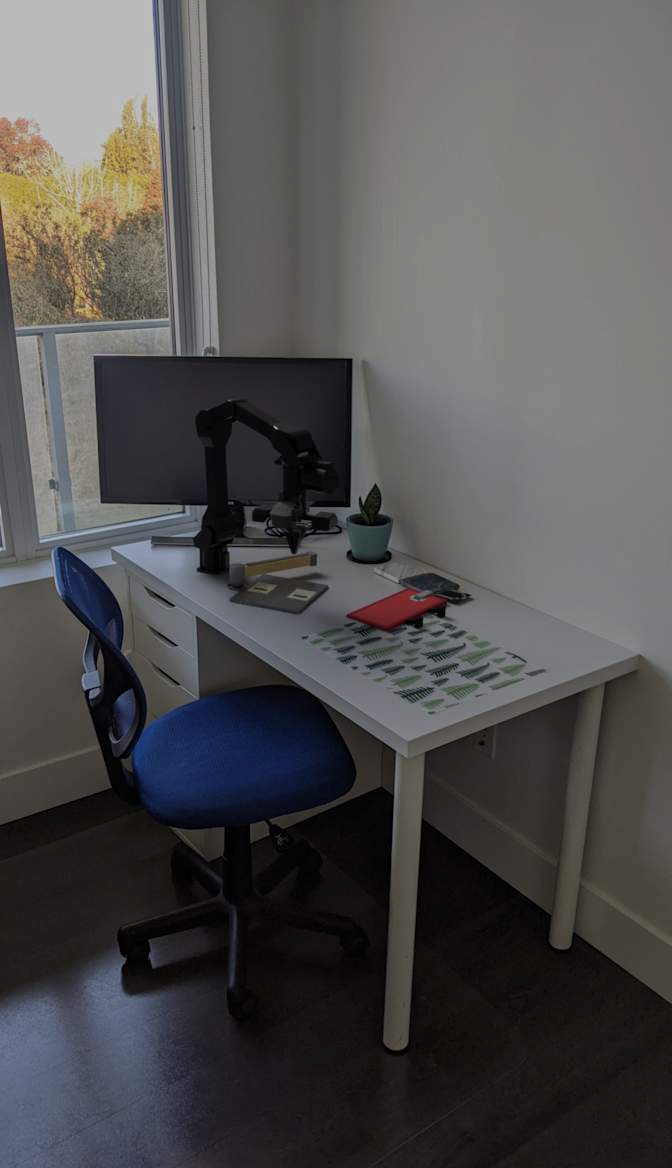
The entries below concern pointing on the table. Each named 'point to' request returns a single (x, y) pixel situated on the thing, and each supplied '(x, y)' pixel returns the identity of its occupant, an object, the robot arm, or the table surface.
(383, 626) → the red board with handle
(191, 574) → the table surface
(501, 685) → the table surface
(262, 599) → the panel
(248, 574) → the swing arm
